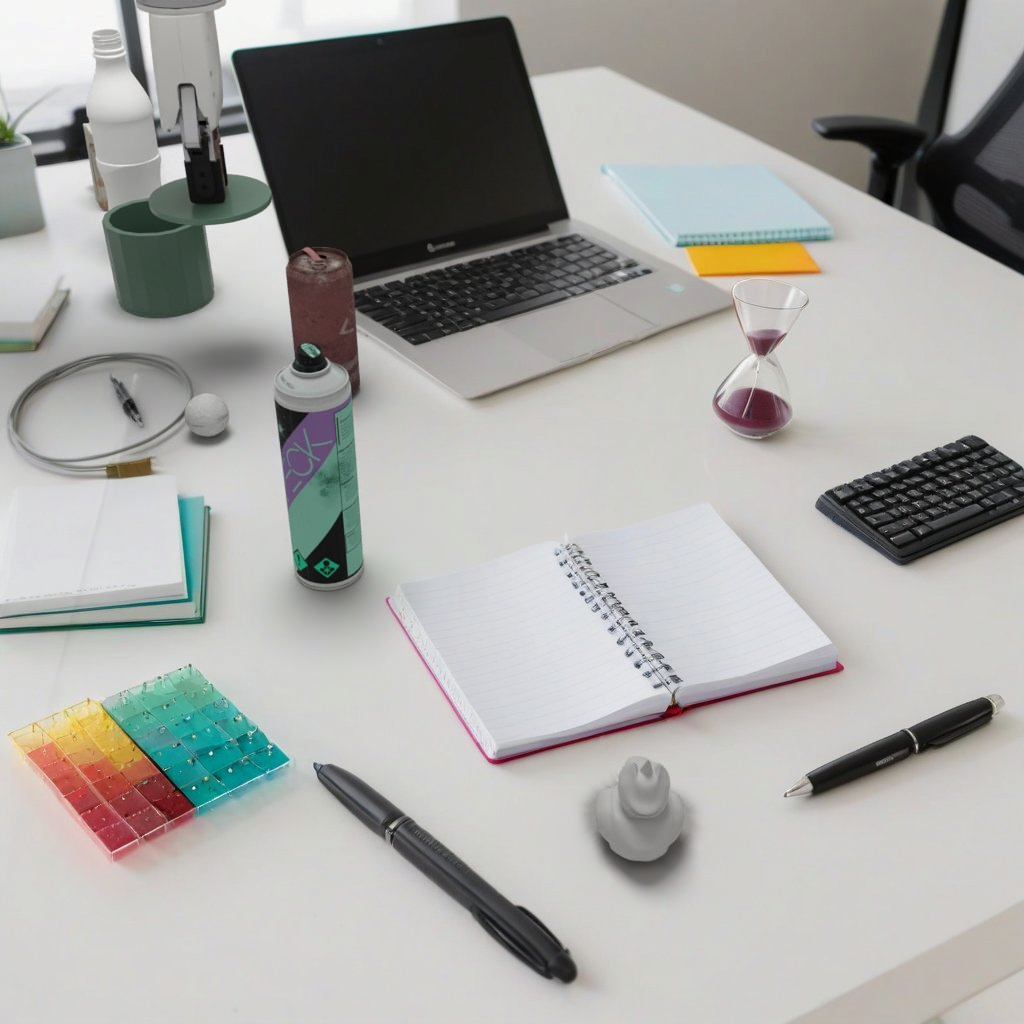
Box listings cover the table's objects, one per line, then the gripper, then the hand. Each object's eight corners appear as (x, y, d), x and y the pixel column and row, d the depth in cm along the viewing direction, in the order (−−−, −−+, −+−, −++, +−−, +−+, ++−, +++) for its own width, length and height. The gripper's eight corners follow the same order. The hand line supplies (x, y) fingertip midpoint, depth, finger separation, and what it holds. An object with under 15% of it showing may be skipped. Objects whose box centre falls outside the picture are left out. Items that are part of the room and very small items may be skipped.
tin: (112, 319, 125) (95, 237, 119) (125, 277, 133) (110, 198, 128) (210, 315, 126) (198, 233, 121) (217, 274, 135) (206, 196, 129)
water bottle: (128, 234, 143) (88, 22, 128) (184, 239, 142) (150, 26, 127) (104, 259, 137) (59, 39, 122) (161, 263, 136) (124, 43, 121)
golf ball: (191, 422, 109) (185, 385, 107) (234, 421, 109) (228, 384, 107) (184, 445, 106) (178, 408, 104) (229, 444, 106) (223, 407, 104)
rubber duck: (594, 876, 70) (603, 789, 65) (591, 789, 75) (599, 703, 70) (683, 879, 70) (699, 793, 65) (675, 793, 75) (689, 707, 70)
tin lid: (143, 234, 105) (129, 162, 101) (157, 187, 114) (146, 119, 110) (270, 229, 106) (262, 158, 102) (274, 183, 115) (267, 116, 111)
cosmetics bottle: (103, 211, 148) (88, 134, 142) (95, 200, 151) (80, 123, 145) (144, 205, 150) (130, 127, 144) (135, 193, 153) (121, 117, 147)
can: (333, 366, 118) (322, 237, 110) (372, 390, 114) (364, 259, 106) (284, 387, 115) (269, 256, 106) (323, 412, 111) (311, 278, 103)
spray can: (312, 541, 95) (289, 324, 83) (374, 554, 94) (360, 336, 82) (283, 582, 91) (254, 359, 79) (347, 597, 90) (328, 373, 78)
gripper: (145, -35, 104) (178, 164, 115) (120, 11, 91) (159, 230, 102) (230, -36, 105) (254, 162, 116) (216, 10, 92) (245, 227, 103)
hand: (209, 192), depth 109 cm, fingers closed on tin lid, 3 cm apart
